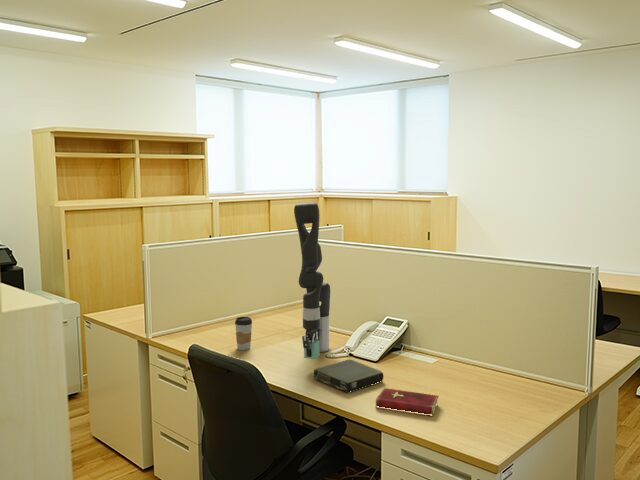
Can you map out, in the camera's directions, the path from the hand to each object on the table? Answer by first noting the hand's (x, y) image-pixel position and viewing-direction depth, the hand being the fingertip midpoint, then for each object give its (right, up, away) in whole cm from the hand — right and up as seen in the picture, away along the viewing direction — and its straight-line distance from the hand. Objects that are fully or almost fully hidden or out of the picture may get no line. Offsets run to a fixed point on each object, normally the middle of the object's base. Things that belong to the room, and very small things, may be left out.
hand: (311, 354), depth 252 cm
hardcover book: (+36, -12, -38) cm, 54 cm away
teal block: (0, -1, 0) cm, 1 cm away
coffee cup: (-34, -3, +31) cm, 46 cm away
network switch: (+15, -9, -12) cm, 21 cm away
